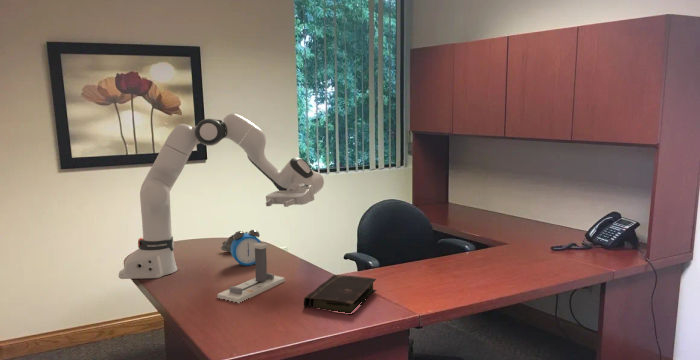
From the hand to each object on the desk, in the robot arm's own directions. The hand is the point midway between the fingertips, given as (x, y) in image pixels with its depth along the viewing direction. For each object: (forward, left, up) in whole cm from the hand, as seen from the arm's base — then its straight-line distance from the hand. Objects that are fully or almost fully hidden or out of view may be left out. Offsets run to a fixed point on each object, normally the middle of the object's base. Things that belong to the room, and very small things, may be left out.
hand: (276, 204), depth 196 cm
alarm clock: (-11, +18, -29) cm, 36 cm away
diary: (+19, -32, -30) cm, 47 cm away
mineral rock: (-14, +41, -29) cm, 52 cm away
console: (-11, -14, -29) cm, 34 cm away
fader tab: (-7, -10, -27) cm, 30 cm away
